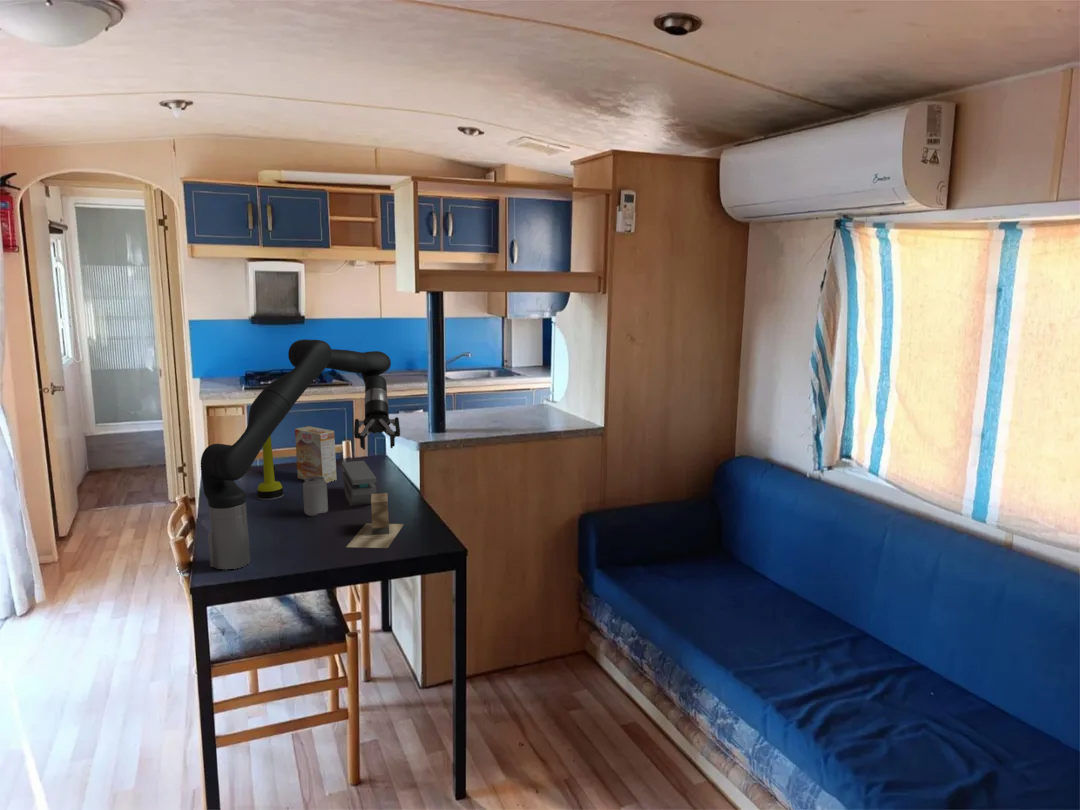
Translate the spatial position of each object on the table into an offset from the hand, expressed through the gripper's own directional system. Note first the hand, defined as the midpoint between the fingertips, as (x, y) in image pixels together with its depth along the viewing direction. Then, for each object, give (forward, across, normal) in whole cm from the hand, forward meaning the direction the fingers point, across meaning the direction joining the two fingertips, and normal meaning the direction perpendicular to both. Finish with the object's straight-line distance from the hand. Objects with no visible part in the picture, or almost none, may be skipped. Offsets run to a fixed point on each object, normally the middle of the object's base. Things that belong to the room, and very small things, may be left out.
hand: (377, 447), depth 230 cm
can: (+9, -21, +25) cm, 34 cm away
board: (+29, -1, +5) cm, 29 cm away
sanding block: (+24, 0, +8) cm, 26 cm away
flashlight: (-7, -38, +42) cm, 57 cm away
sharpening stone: (+1, -7, +34) cm, 34 cm away
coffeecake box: (-21, -24, +55) cm, 64 cm away
